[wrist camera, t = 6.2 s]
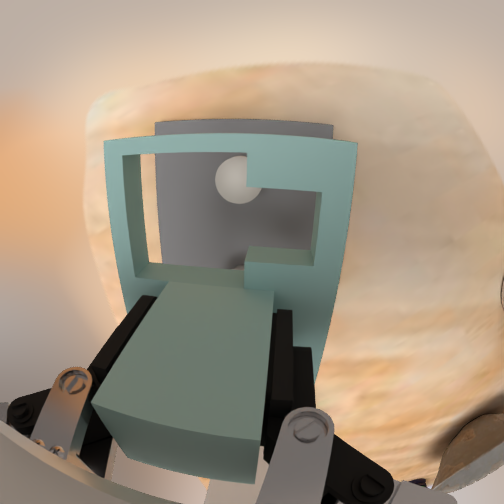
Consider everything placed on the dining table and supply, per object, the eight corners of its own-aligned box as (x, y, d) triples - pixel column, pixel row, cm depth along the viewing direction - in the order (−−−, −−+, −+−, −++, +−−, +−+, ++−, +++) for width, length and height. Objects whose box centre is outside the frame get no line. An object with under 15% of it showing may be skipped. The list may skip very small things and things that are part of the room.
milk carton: (280, 376, 29) (261, 544, 12) (311, 406, 31) (306, 549, 14) (230, 394, 31) (194, 538, 14) (263, 421, 33) (244, 549, 16)
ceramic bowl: (531, 368, 26) (554, 407, 17) (503, 428, 33) (515, 460, 24) (426, 424, 32) (439, 475, 23) (419, 467, 39) (425, 503, 30)
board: (331, 125, 19) (340, 123, 15) (309, 312, 25) (311, 340, 22) (160, 122, 20) (137, 122, 17) (171, 298, 26) (156, 322, 23)
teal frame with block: (348, 141, 9) (474, 172, 2) (302, 403, 15) (301, 517, 8) (122, 138, 10) (-38, 176, 3) (161, 385, 16) (119, 485, 9)
